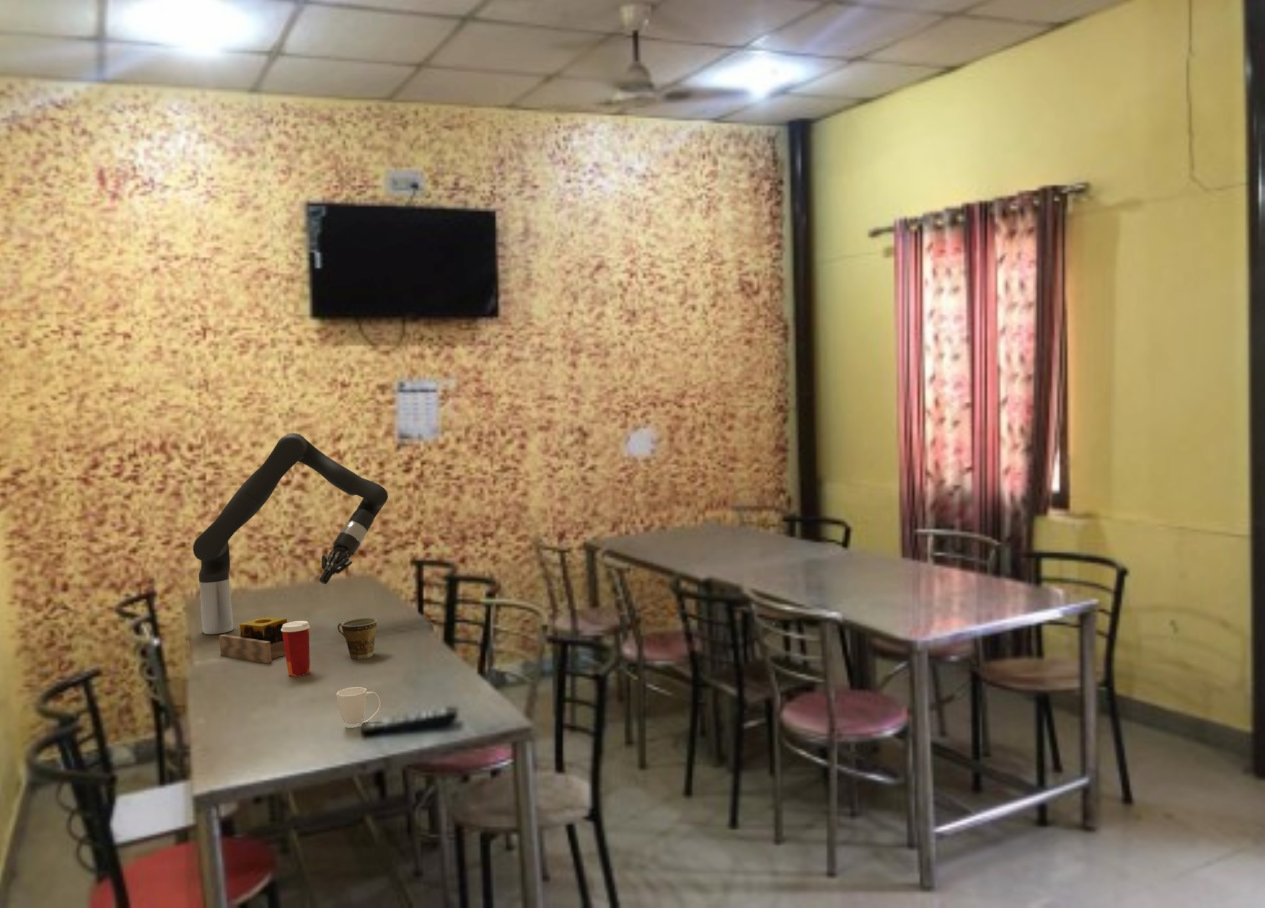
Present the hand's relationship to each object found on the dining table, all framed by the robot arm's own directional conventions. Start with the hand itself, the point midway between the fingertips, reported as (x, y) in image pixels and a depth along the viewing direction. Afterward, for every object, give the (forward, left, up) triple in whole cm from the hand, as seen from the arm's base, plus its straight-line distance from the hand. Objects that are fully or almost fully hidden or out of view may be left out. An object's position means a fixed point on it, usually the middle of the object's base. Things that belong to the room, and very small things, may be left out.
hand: (322, 582), depth 329 cm
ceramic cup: (+30, -13, -17) cm, 37 cm away
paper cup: (+29, -34, -17) cm, 47 cm away
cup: (+79, -56, -17) cm, 98 cm away
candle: (+1, -23, -17) cm, 29 cm away
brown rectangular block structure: (0, -26, -17) cm, 31 cm away
